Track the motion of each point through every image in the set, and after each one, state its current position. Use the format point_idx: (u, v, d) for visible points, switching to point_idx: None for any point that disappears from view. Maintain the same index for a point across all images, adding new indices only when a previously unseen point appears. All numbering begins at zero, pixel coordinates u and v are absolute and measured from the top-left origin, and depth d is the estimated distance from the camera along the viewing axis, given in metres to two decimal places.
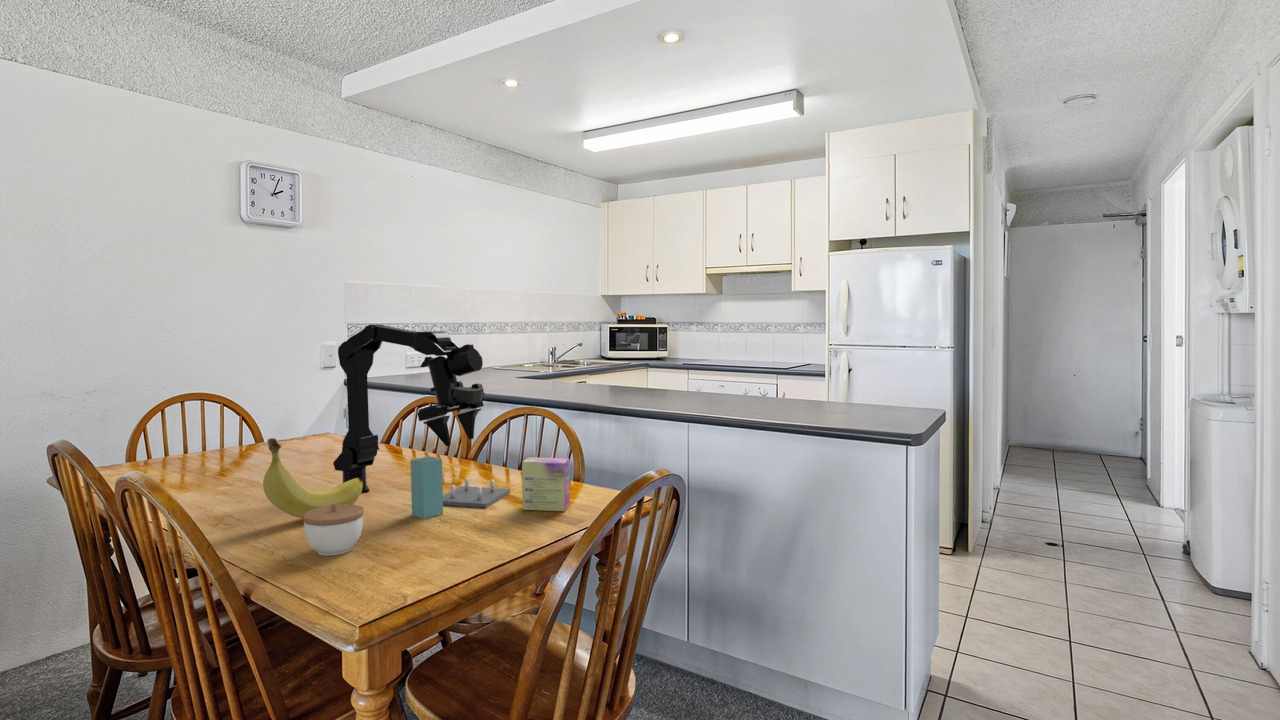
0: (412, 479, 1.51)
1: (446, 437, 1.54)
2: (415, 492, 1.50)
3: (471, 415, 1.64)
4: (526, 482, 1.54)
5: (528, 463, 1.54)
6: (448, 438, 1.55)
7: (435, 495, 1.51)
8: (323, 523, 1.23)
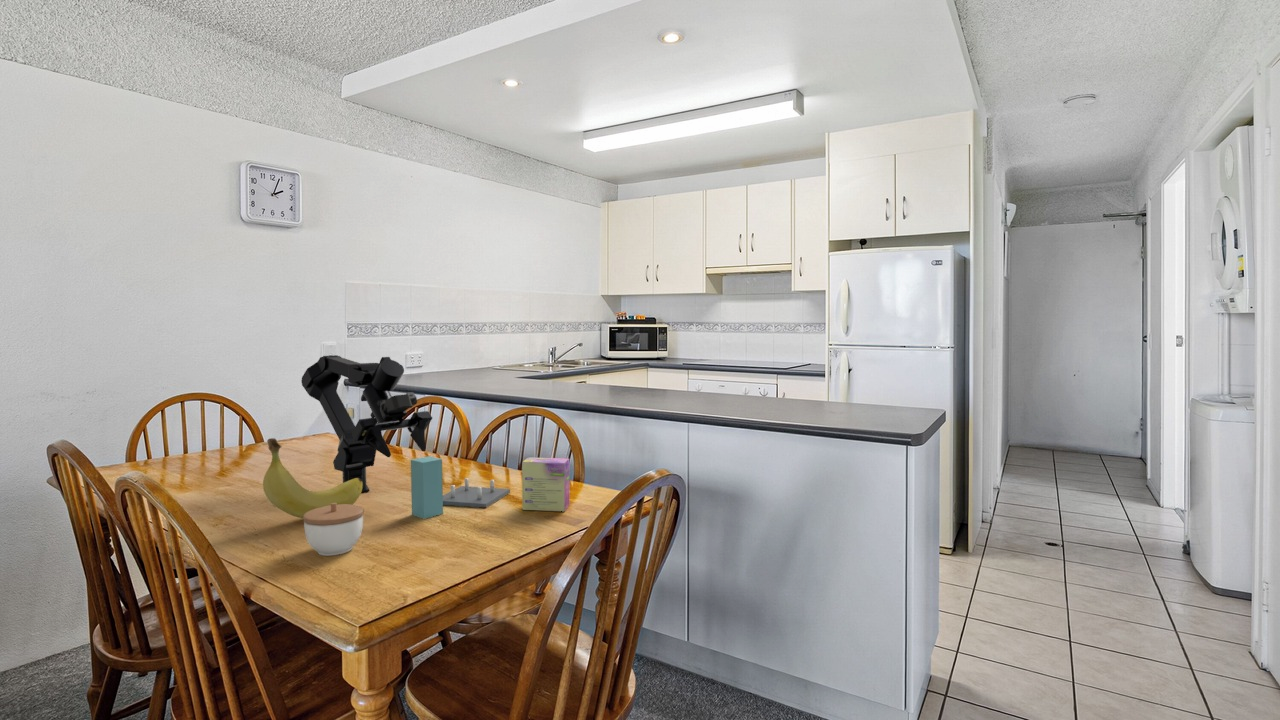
0: (412, 479, 1.51)
1: (384, 448, 1.52)
2: (415, 492, 1.50)
3: (418, 427, 1.62)
4: (526, 482, 1.54)
5: (528, 463, 1.54)
6: (386, 448, 1.52)
7: (435, 495, 1.51)
8: (323, 523, 1.23)
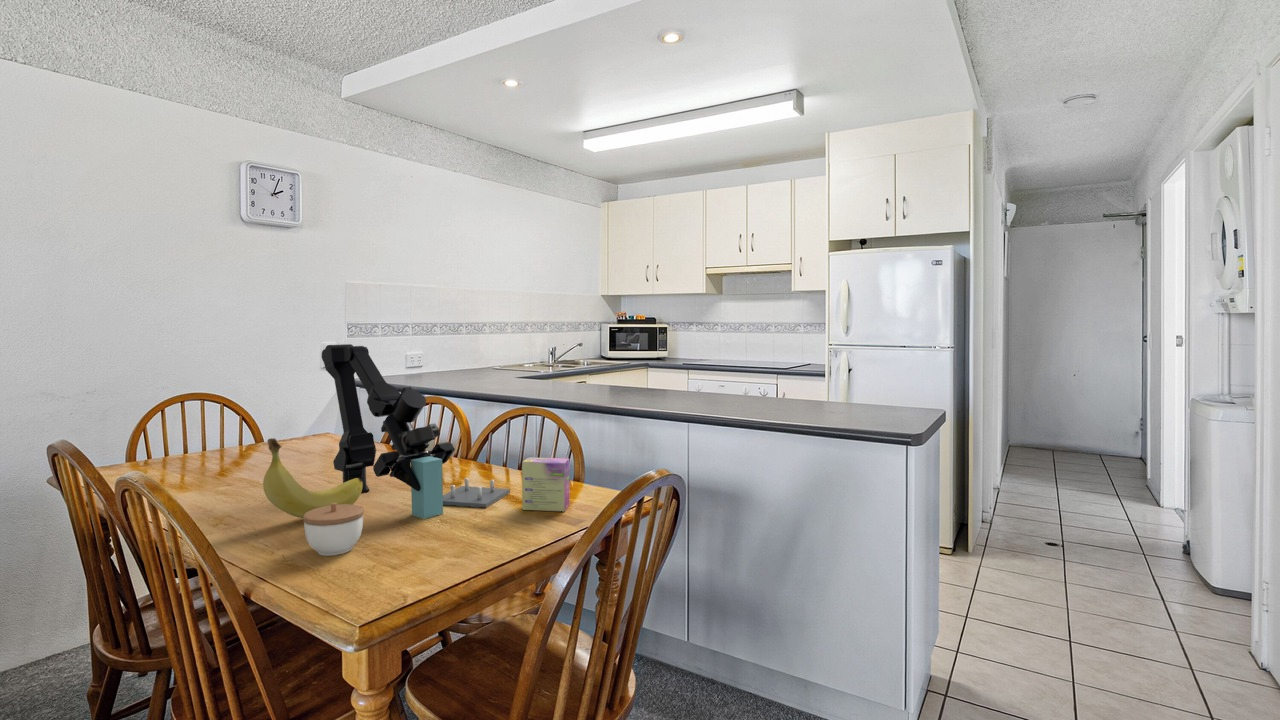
0: None
1: (413, 481, 1.48)
2: (415, 492, 1.50)
3: None
4: (526, 482, 1.54)
5: (528, 463, 1.54)
6: (416, 482, 1.48)
7: (435, 495, 1.51)
8: (323, 523, 1.23)
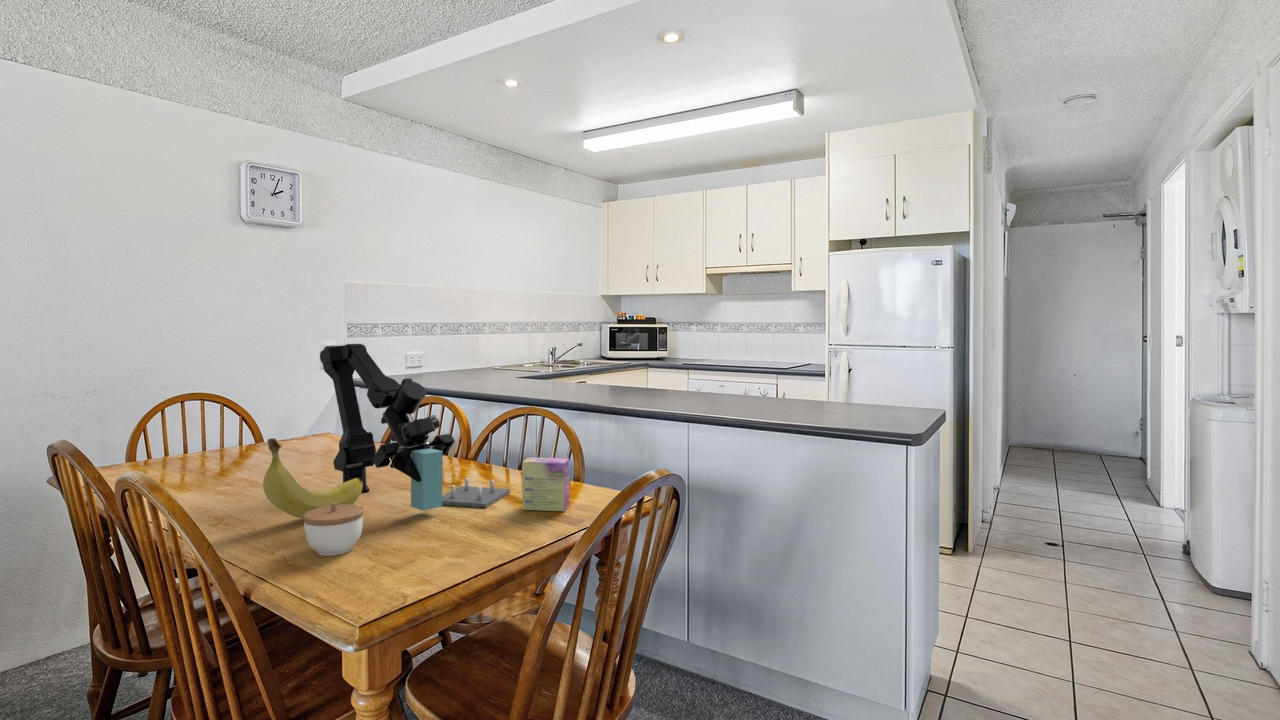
0: None
1: (414, 472, 1.48)
2: (415, 483, 1.50)
3: None
4: (526, 482, 1.54)
5: (528, 463, 1.54)
6: (416, 473, 1.48)
7: (435, 487, 1.50)
8: (323, 523, 1.23)
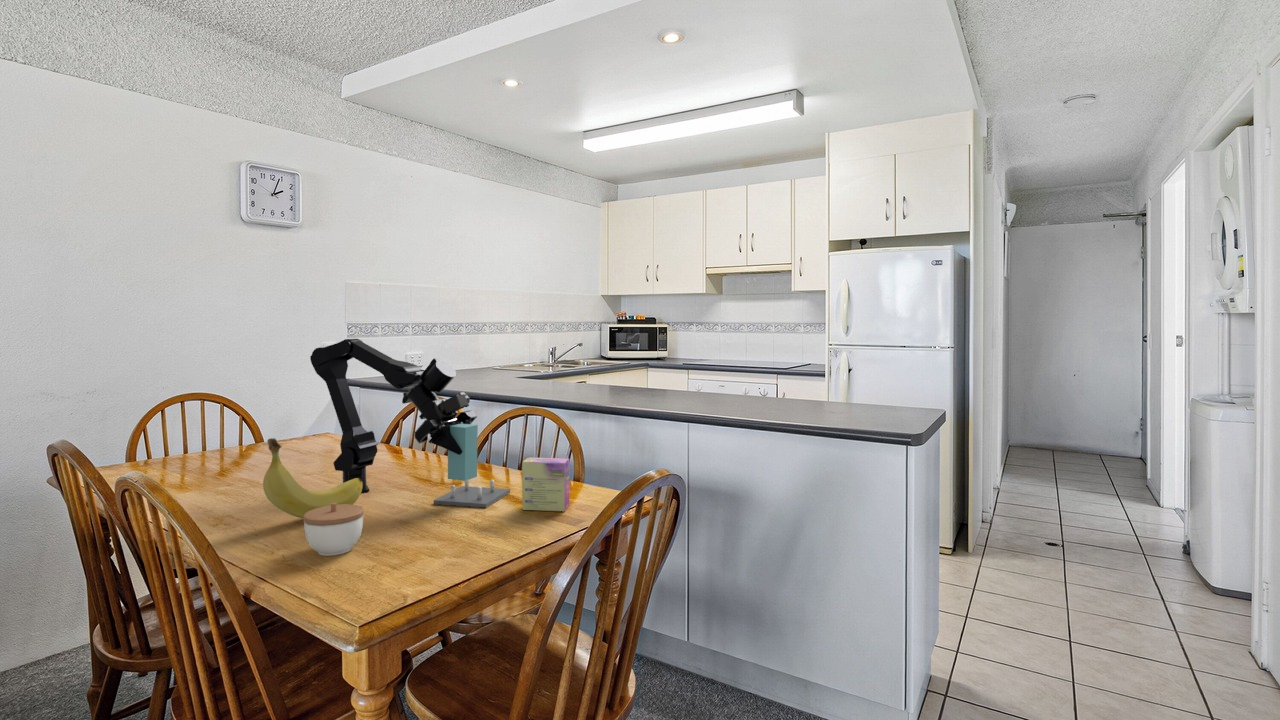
0: None
1: (455, 445, 1.57)
2: (454, 456, 1.59)
3: None
4: (526, 482, 1.54)
5: (528, 463, 1.54)
6: (457, 446, 1.57)
7: (472, 459, 1.60)
8: (323, 523, 1.23)
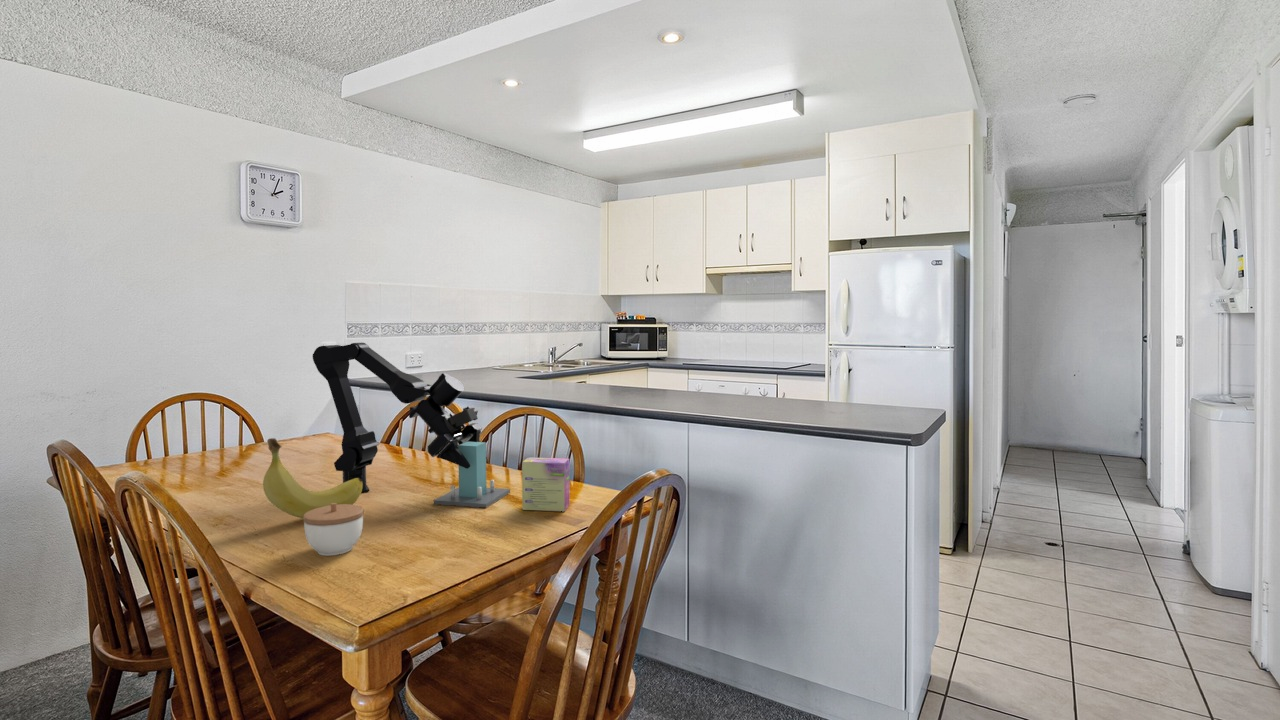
0: None
1: (463, 460, 1.59)
2: (465, 474, 1.63)
3: (475, 439, 1.70)
4: (526, 482, 1.54)
5: (528, 463, 1.54)
6: (466, 460, 1.60)
7: (482, 475, 1.65)
8: (323, 523, 1.23)
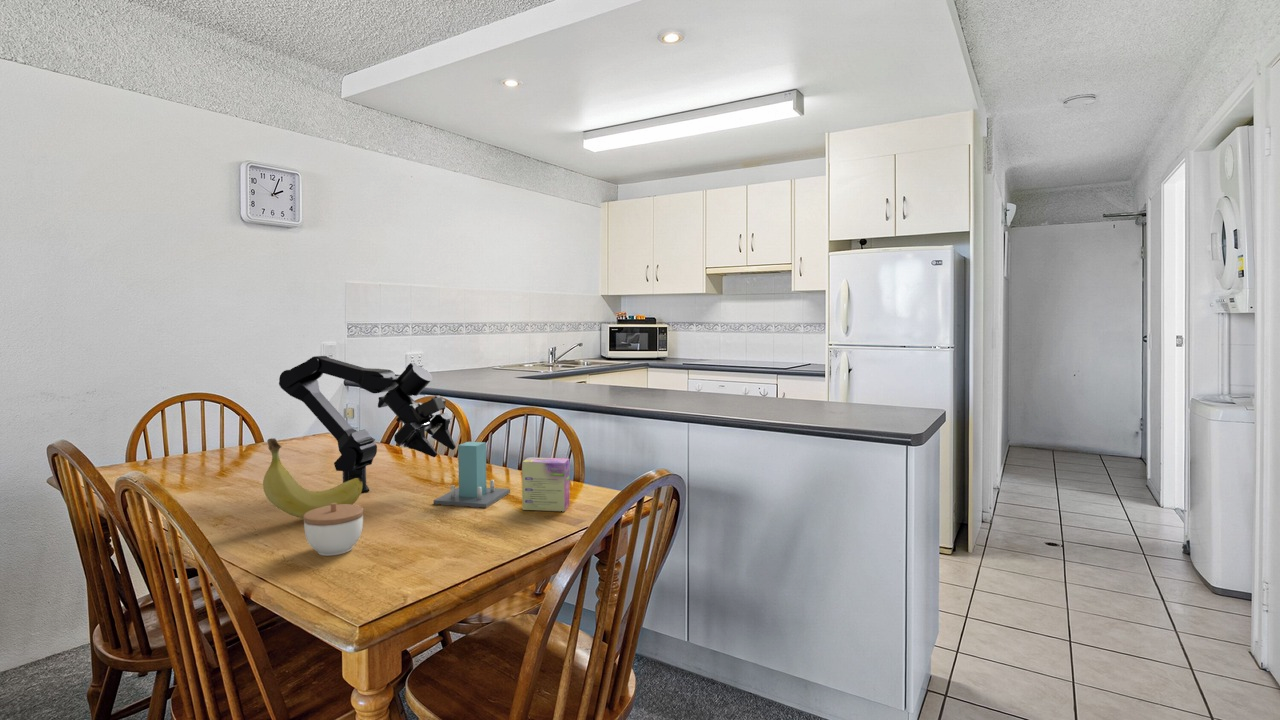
0: (460, 463, 1.63)
1: (430, 448, 1.61)
2: (465, 474, 1.63)
3: (444, 428, 1.71)
4: (526, 482, 1.54)
5: (528, 463, 1.54)
6: (432, 449, 1.61)
7: (482, 475, 1.65)
8: (323, 523, 1.23)
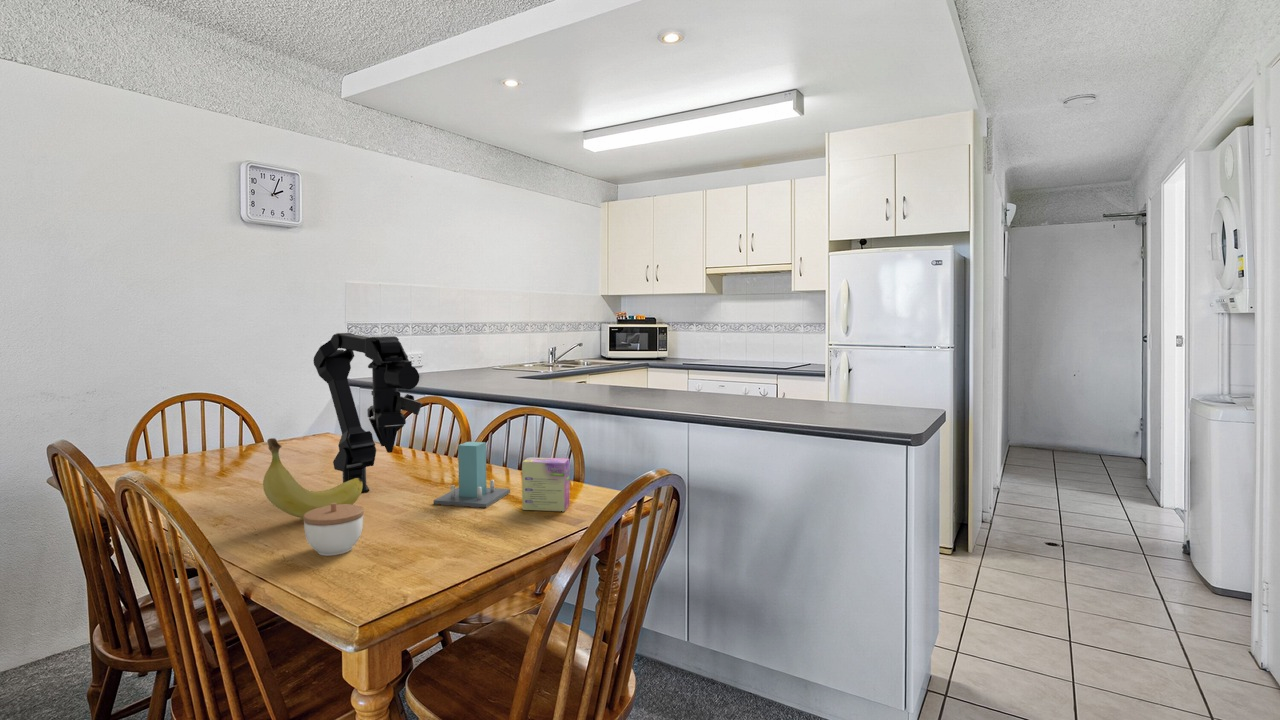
0: (460, 463, 1.63)
1: (393, 444, 1.58)
2: (465, 474, 1.63)
3: None
4: (526, 482, 1.54)
5: (528, 463, 1.54)
6: None
7: (482, 475, 1.65)
8: (323, 523, 1.23)
